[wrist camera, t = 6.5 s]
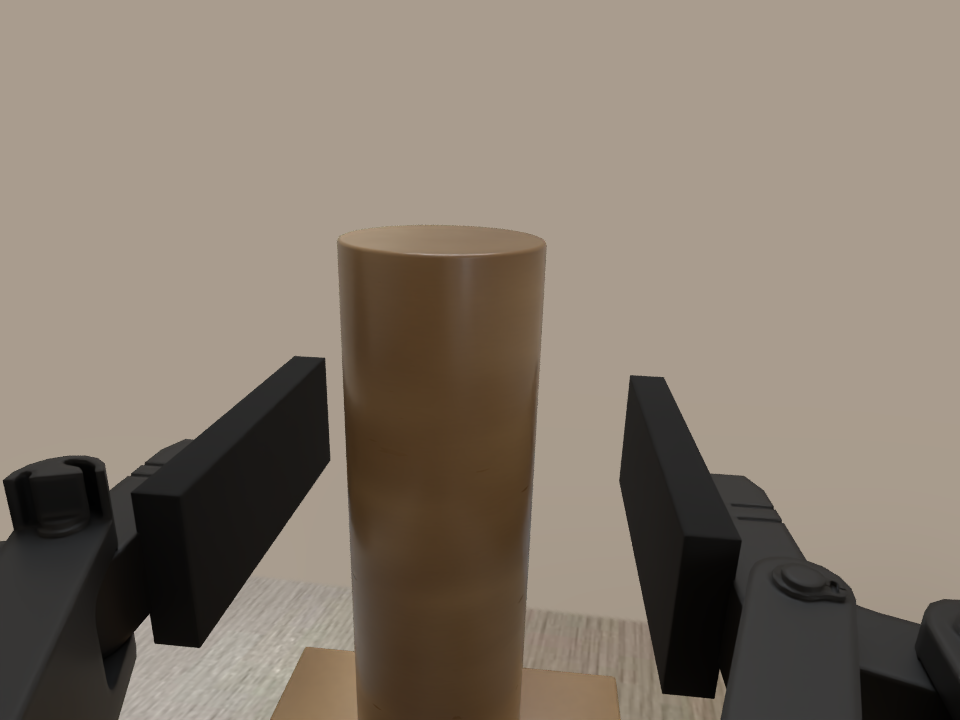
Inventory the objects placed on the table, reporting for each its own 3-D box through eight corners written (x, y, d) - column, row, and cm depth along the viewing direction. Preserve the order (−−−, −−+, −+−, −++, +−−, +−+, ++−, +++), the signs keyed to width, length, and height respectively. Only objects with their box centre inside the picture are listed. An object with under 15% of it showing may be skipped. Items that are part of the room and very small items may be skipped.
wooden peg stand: (210, 999, 12) (88, 255, 7) (312, 743, 16) (273, 210, 12) (628, 1061, 11) (750, 284, 7) (604, 775, 16) (666, 225, 12)
